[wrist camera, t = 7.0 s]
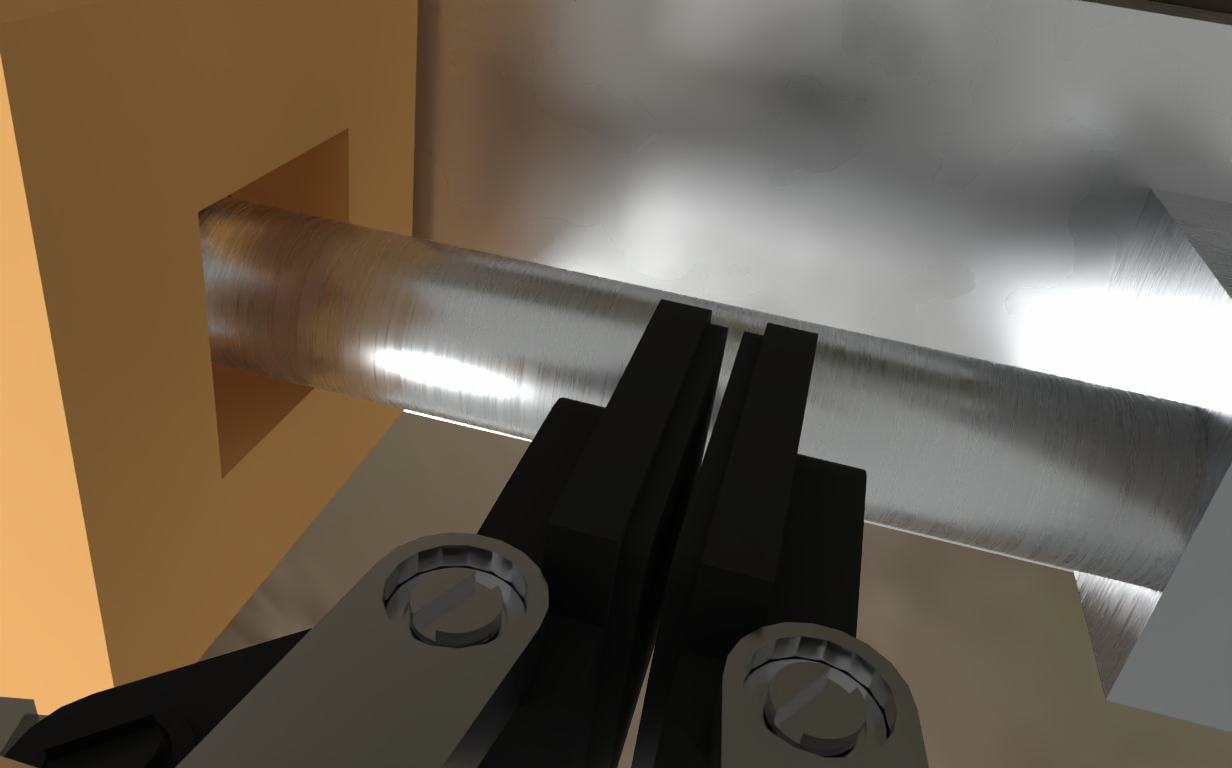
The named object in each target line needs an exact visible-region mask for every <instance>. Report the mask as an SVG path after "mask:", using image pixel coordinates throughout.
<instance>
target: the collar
mask: <svg viewBox="0 0 1232 768" xmlns="http://www.w3.org/2000/svg"><path fill="white" fill-rule="evenodd" d="M417 19H418V0H0V697H11V698H23V699H34V702H35V706H36V710H37V713H38V714H39V715H50V714H51V713H53V712H54V711H56V710H57V709H59V708H60V707H62V706H64V705H67V704H69V703H72V702H74V701H77V700H79V699H81V698H84V697H86V696H89V695H91V694H94V693H97V692H100V691H104V690H107V689H110V688H114V687H117V686H120V685H124V684H127V683H130V682H134V681H137V680H140V679H144V678H147V677H150V676H154V675H157V674H161V673H164V672H167V671H171V670H174V669H177V668H181V667H184V666H187V665H191V664H194V663H196V662H197V661H198V660H199V658H200V657H201V656H202V655H203V654H204V652H205V651H206V650H207V649H208V648H209V646H210V645H211V644H212V643H213V642H214V640H215V639H216V638H217V637H218V635H219V634H220V633H221V632H222V631H223V629H224V628H225V627H226V626H227V625H228V623H229V622H230V621H231V620H232V619H233V617H234V616H235V615H236V614H237V612H238V611H239V610H240V609H241V608H242V606H243V605H244V604H245V603H246V602H247V600H248V599H249V598H250V597H251V595H252V594H253V593H254V592H255V591H256V589H257V588H258V587H259V586H260V585H261V583H262V582H263V581H264V580H265V579H266V577H267V576H268V575H269V574H270V572H271V571H272V570H273V569H274V568H275V566H276V565H277V564H278V563H279V562H280V560H281V559H282V558H283V557H284V555H285V554H286V553H287V552H288V551H289V549H290V548H291V547H292V546H293V545H294V543H295V542H296V541H297V540H298V539H299V537H300V536H301V535H302V534H303V532H304V531H305V530H306V529H307V528H308V526H309V525H310V524H311V523H312V522H313V520H314V519H315V518H316V517H317V516H318V514H319V513H320V512H321V511H322V509H323V508H324V507H325V506H326V505H327V503H328V502H329V501H330V500H331V499H332V497H333V496H334V495H335V494H336V492H337V491H338V490H339V489H340V488H341V486H342V485H343V484H344V483H345V482H346V480H347V479H348V478H349V477H350V476H351V474H352V473H353V472H354V471H355V469H356V468H357V467H358V466H359V465H360V463H361V462H362V461H363V460H364V459H365V457H366V456H367V455H368V454H369V452H370V451H371V450H372V449H373V448H374V446H375V445H376V444H377V443H378V442H379V440H380V439H381V438H382V437H383V436H384V434H385V433H386V432H387V431H388V429H389V428H390V427H391V426H392V425H393V423H394V422H395V421H396V420H397V419H398V417H399V416H400V415H401V414H402V412H403V411H404V410H405V409H401V408H397V407H393V406H389V405H385V404H380V403H376V402H372V401H368V400H364V399H360V398H355V397H351V396H347V395H343V394H339V393H335V392H330V391H326V390H322V389H318V388H314V387H310V386H306V385H301V384H297V383H293V382H289V381H285V380H281V379H276V378H272V377H268V376H264V375H260V374H256V373H251V372H247V371H243V370H239V369H235V368H231V367H226V366H222V365H218V364H214V363H211V352H210V340H209V329H208V318H207V307H206V296H205V284H204V273H203V262H202V251H201V240H200V228H199V217H198V212H199V211H201V210H203V209H205V208H206V207H208V206H210V205H212V204H214V203H215V202H217V201H219V200H221V199H222V198H224V197H226V196H228V195H230V196H231V197H232V198H236V199H241V200H245V201H250V202H255V203H259V204H264V205H269V206H273V207H278V208H283V209H287V210H292V211H296V212H301V213H306V214H310V215H315V216H320V217H324V218H329V219H334V220H338V221H343V222H348V223H352V224H357V225H361V226H366V227H371V228H375V229H380V230H385V231H389V232H394V233H399V234H403V235H408V236H412V220H413V180H414V140H415V100H416V59H417Z"/></svg>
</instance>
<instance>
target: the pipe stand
mask: <svg viewBox="0 0 1232 768" xmlns="http://www.w3.org/2000/svg"><path fill="white" fill-rule="evenodd" d="M198 217H199V228H200V240H201V251H202V262H203V273H204V284H205V296H206V307H207V318H208V329H209V340H210V352H211V363H214V364H218V365H222V366H226V367H231V368H235V369H239V370H243V371H247V372H251V373H256V374H260V375H264V376H268V377H272V378H276V379H281V380H285V381H289V382H293V383H297V384H301V385H306V386H310V387H314V388H318V389H322V390H326V391H330V392H335V393H339V394H343V395H347V396H351V397H355V398H360V399H364V400H368V401H372V402H376V403H380V404H385V405H389V406H393V407H397V408H401V409H405V410H404V411H405V412H409V413H413V414H418V415H422V416H426V417H430V418H434V419H438V420H443V421H447V422H451V423H455V424H459V425H463V426H467V427H472V428H476V429H480V430H484V431H488V432H492V433H497V434H501V435H505V436H509V437H513V438H517V439H521V440H526V441H530V442H532V440H533V439H534V437H535V435H536V434H537V432H538V430H539V429H540V427H541V425H542V424H543V422H544V420H545V419H546V417H547V415H548V414H549V412H550V410H551V408H552V407H553V405H554V404H555V403H556V401H557V400H558V399H559V398H562V397H564V398H569V399H573V400H577V401H581V402H585V403H589V404H594V405H598V406H602V407H606V406H607V404H608V402H609V400H610V398H611V396H612V394H613V392H614V390H615V388H616V386H617V384H618V383H619V381H620V379H621V377H622V375H623V373H624V371H625V369H626V367H627V365H628V363H629V361H630V359H631V357H632V355H633V353H634V351H635V349H636V347H637V345H638V343H639V341H640V339H641V337H642V335H643V333H644V331H645V329H646V327H647V325H648V323H649V321H650V319H651V317H652V315H653V313H654V311H655V309H656V307H657V305H658V304H659V302H660V300H661V299H664V300H669V301H673V302H678V303H682V304H687V305H691V306H696V307H700V308H705V309H709V310H712V317H711V324H715V325H719V326H724V327H728V335H727V341H726V346H725V351H724V356H723V361H722V366H721V371H720V375H719V380H718V385H717V390H716V395H715V400H714V405H713V410H712V415H711V420H710V425H709V430H708V435H707V440H706V445H705V450H704V455H703V459H704V456H705V452H706V449H707V446H708V443H709V440H710V437H711V434H712V430H713V427H714V424H715V421H716V418H717V415H718V412H719V408H720V405H721V402H722V399H723V396H724V393H725V390H726V386H727V383H728V380H729V377H730V374H731V371H732V368H733V364H734V361H735V358H736V355H737V352H738V349H739V346H740V342H741V339H742V336H743V333H744V331H746V332H750V333H755V334H759V335H764V333H765V329H766V326H767V322H768V323H773V324H777V325H782V326H786V327H791V328H795V329H800V330H804V331H809V332H813V333H818V340H817V346H816V352H815V357H814V363H813V369H812V374H811V380H810V386H809V391H808V397H807V402H806V408H805V414H804V419H803V425H802V431H801V436H800V442H799V448H798V453H797V454H802V455H806V456H810V457H814V458H818V459H822V460H827V461H831V462H835V463H839V464H843V465H847V466H851V467H856V468H860V469H864V470H865V471H866V472H867V483H866V498H865V512H864V522H866V523H870V524H874V525H879V526H883V527H887V528H891V529H895V530H899V531H904V532H908V533H912V534H916V535H920V536H924V537H928V538H933V539H937V540H941V541H945V542H949V543H953V544H958V545H962V546H966V547H970V548H974V549H978V550H982V551H987V552H991V553H995V554H999V555H1003V556H1007V557H1012V558H1016V559H1020V560H1024V561H1028V562H1032V563H1036V564H1041V565H1045V566H1049V567H1053V568H1057V569H1061V570H1066V571H1070V572H1074V575H1075V579H1076V583H1077V587H1078V591H1079V595H1080V599H1081V603H1082V607H1083V611H1084V615H1085V619H1086V623H1087V627H1088V631H1089V635H1090V639H1091V643H1092V647H1093V651H1094V655H1095V659H1096V663H1097V667H1098V671H1099V675H1100V679H1101V683H1102V687H1103V691H1104V695H1105V699H1106V700H1108V701H1112V702H1115V703H1119V704H1123V705H1127V706H1131V707H1135V708H1139V709H1143V710H1147V711H1151V712H1154V713H1158V714H1162V715H1166V716H1170V717H1174V718H1178V719H1182V720H1186V721H1190V722H1193V723H1197V724H1201V725H1205V726H1209V727H1213V728H1217V729H1221V730H1225V731H1229V732H1232V14H1228V13H1222V12H1216V11H1210V10H1204V9H1198V8H1191V7H1185V6H1179V5H1173V4H1167V3H1161V2H1155V1H1149V0H418V19H417V59H416V100H415V140H414V180H413V220H412V236H408V235H403V234H399V233H394V232H389V231H385V230H380V229H375V228H371V227H366V226H361V225H357V224H352V223H348V222H343V221H338V220H334V219H329V218H324V217H320V216H315V215H310V214H306V213H301V212H296V211H292V210H287V209H283V208H278V207H273V206H269V205H264V204H259V203H255V202H250V201H245V200H241V199H236V198H232V197H231V196H230V195H228V196H226V197H224V198H222V199H221V200H219V201H217V202H215V203H214V204H212V205H210V206H208V207H206V208H205V209H203V210H201V211H199V212H198ZM702 462H703V460H702Z"/></svg>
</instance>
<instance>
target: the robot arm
mask: <svg viewBox="0 0 1232 768" xmlns="http://www.w3.org/2000/svg"><path fill="white" fill-rule="evenodd" d="M711 317H712V310H709V309H705V308H700V307H696V306H691V305H687V304H682V303H678V302H673V301H669V300H664V299H661V300H660V302H659V304H658V305H657V307H656V309H655V311H654V313H653V315H652V317H651V319H650V321H649V323H648V325H647V327H646V329H645V331H644V333H643V335H642V337H641V339H640V341H639V343H638V345H637V347H636V349H635V351H634V353H633V355H632V357H631V359H630V361H629V363H628V365H627V367H626V369H625V371H624V373H623V375H622V377H621V379H620V381H619V383H618V384H617V386H616V388H615V390H614V392H613V394H612V396H611V398H610V400H609V402H608V404H607V406H606V407H602V406H598V405H594V404H589V403H585V402H581V401H577V400H573V399H569V398H564V397H562V398H559V399H558V400H557V401H556V403H555V404H554V405H553V407H552V408H551V410H550V412H549V414H548V415H547V417H546V419H545V420H544V422H543V424H542V425H541V427H540V429H539V430H538V432H537V434H536V435H535V437H534V439H533V440H532V442H531V444H530V445H529V447H528V449H527V450H526V452H525V454H524V456H523V457H522V459H521V461H520V462H519V464H518V466H517V467H516V469H515V471H514V472H513V474H512V476H511V477H510V479H509V481H508V482H507V484H506V486H505V487H504V489H503V491H502V492H501V494H500V496H499V498H498V499H497V501H496V503H495V504H494V506H493V508H492V509H491V511H490V513H489V514H488V516H487V518H486V519H485V521H484V523H483V524H482V526H481V528H480V529H479V531H478V533H477V534H467V533H444V534H438V535H432V536H425V537H421V538H418V539H416V540H413V541H411V542H408V543H406V544H403V545H401V546H398V547H397V548H395V549H394V550H393V551H391V552H390V553H389V554H387V555H386V556H385V557H383V558H382V559H381V560H379V561H378V562H377V563H376V564H375V565H374V566H373V567H372V568H371V569H370V570H369V571H368V572H367V573H366V574H365V575H364V576H363V577H362V578H361V579H360V580H359V581H358V582H357V583H356V584H355V585H354V586H353V587H352V589H351V590H350V591H349V592H348V593H347V594H346V595H345V596H344V597H343V598H342V599H341V600H340V601H339V602H338V603H337V604H336V605H335V606H334V607H333V608H332V609H331V610H330V611H329V612H328V613H327V614H326V615H325V616H324V617H323V618H322V619H321V620H320V621H319V622H318V623H317V624H316V625H315V626H314V627H313V628H311V629H308V630H305V631H301V632H298V633H294V634H291V635H288V636H284V637H281V638H278V639H274V640H271V641H268V642H264V643H261V644H258V645H254V646H251V647H248V648H244V649H241V650H238V651H234V652H231V653H228V654H224V655H221V656H217V657H214V658H211V659H207V660H204V661H201V662H197V663H194V664H191V665H187V666H184V667H181V668H177V669H174V670H171V671H167V672H164V673H161V674H157V675H154V676H150V677H147V678H144V679H140V680H137V681H134V682H130V683H127V684H124V685H120V686H117V687H114V688H110V689H107V690H104V691H100V692H97V693H94V694H91V695H89V696H86V697H84V698H81V699H79V700H77V701H74V702H72V703H69V704H67V705H64V706H62V707H60V708H59V709H57V710H56V711H54V712H53V713H51V714H50V715H39V714H38V713H37V710H36V706H35V702H34V699H23V698H11V697H0V768H617V766H618V763H619V759H620V756H621V753H622V750H623V746H624V743H625V740H626V737H627V733H628V730H629V727H630V724H631V720H632V717H633V714H634V710H635V707H636V704H637V701H638V697H639V694H640V691H641V688H642V684H643V681H644V678H645V675H646V671H647V668H648V665H649V662H650V658H651V655H652V652H653V648H654V645H655V648H654V653H653V658H652V663H651V668H650V673H649V678H648V684H647V689H646V694H645V699H644V704H643V709H642V715H641V720H640V725H639V730H638V735H637V740H636V746H635V751H634V756H633V761H632V766H631V768H929V766H928V761H927V756H926V751H925V746H924V741H923V736H922V730H921V725H920V720H919V715H918V710H917V707H916V704H915V702H914V699H913V696H912V694H911V691H910V689H909V686H908V684H907V683H906V682H905V680H904V679H903V678H902V676H901V675H900V674H899V673H898V671H897V670H896V669H895V667H894V666H893V665H892V663H891V662H889V661H888V660H887V659H886V658H884V657H883V656H882V655H881V654H879V653H878V652H877V651H876V650H874V649H873V648H872V647H871V646H869V645H868V644H866V643H864V642H862V641H860V640H858V639H856V630H857V615H858V600H859V586H860V571H861V556H862V542H863V527H864V512H865V498H866V483H867V472H866V471H865V470H864V469H860V468H856V467H851V466H847V465H843V464H839V463H835V462H831V461H827V460H822V459H818V458H814V457H810V456H806V455H802V454H797V453H798V448H799V442H800V436H801V431H802V425H803V419H804V414H805V408H806V402H807V397H808V391H809V386H810V380H811V374H812V369H813V363H814V357H815V352H816V346H817V340H818V333H813V332H809V331H804V330H800V329H795V328H791V327H786V326H782V325H777V324H773V323H768V322H767V326H766V329H765V333H764V335H759V334H755V333H750V332H746V331H744V333H743V336H742V339H741V342H740V346H739V349H738V352H737V355H736V358H735V361H734V364H733V368H732V371H731V374H730V377H729V380H728V383H727V386H726V390H725V393H724V396H723V399H722V402H721V405H720V408H719V412H718V415H717V418H716V421H715V424H714V427H713V430H712V434H711V437H710V440H709V443H708V446H707V449H706V452H705V456H704V459H703V455H704V450H705V445H706V440H707V435H708V430H709V425H710V420H711V415H712V410H713V405H714V400H715V395H716V390H717V385H718V380H719V375H720V371H721V366H722V361H723V356H724V351H725V346H726V341H727V335H728V327H724V326H719V325H715V324H711ZM702 460H703V462H702Z"/></svg>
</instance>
